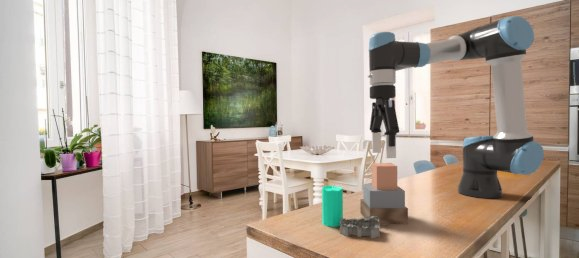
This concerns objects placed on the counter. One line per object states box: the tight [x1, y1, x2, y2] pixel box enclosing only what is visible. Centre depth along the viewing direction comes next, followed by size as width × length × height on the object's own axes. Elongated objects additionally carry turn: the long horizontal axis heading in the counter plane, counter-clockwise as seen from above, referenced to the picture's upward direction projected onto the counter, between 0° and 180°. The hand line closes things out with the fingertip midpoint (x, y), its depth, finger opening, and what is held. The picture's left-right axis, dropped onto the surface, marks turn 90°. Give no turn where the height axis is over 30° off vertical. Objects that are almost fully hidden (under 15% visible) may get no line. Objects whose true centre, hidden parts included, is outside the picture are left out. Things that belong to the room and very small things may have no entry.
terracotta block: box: [371, 162, 398, 190], centre depth 93 cm, size 6×6×7 cm
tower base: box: [359, 198, 409, 226], centre depth 94 cm, size 11×11×5 cm
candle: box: [321, 182, 344, 228], centre depth 90 cm, size 6×6×12 cm
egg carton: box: [339, 216, 381, 239], centre depth 83 cm, size 11×8×4 cm
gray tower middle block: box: [362, 183, 406, 208], centre depth 94 cm, size 10×10×5 cm
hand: (383, 155), depth 94 cm, fingers open, 13 cm apart
